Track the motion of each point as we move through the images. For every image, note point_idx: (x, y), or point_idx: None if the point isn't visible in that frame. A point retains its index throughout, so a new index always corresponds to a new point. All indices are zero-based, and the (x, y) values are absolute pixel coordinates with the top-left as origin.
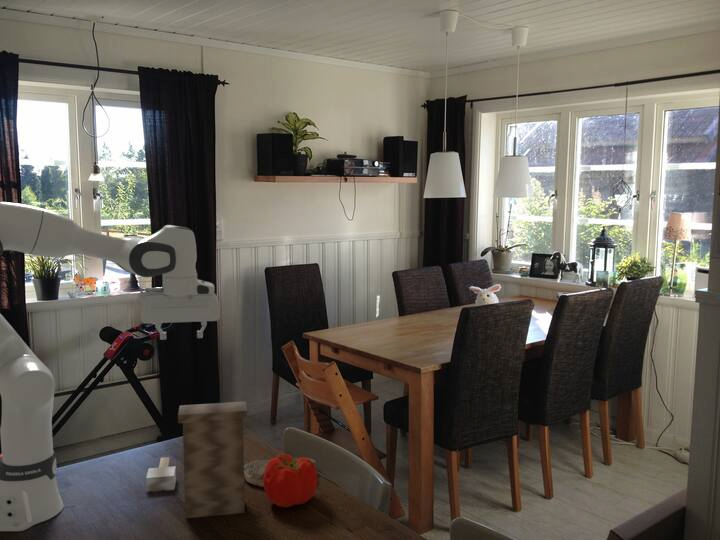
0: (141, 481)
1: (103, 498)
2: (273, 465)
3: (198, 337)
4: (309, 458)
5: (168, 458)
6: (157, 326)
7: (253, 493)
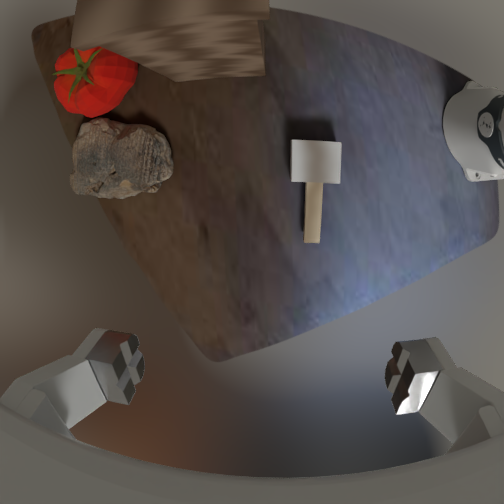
0: (347, 185)
1: (397, 138)
2: (103, 56)
3: (124, 333)
4: (76, 191)
5: (306, 236)
6: (500, 405)
7: (161, 106)
